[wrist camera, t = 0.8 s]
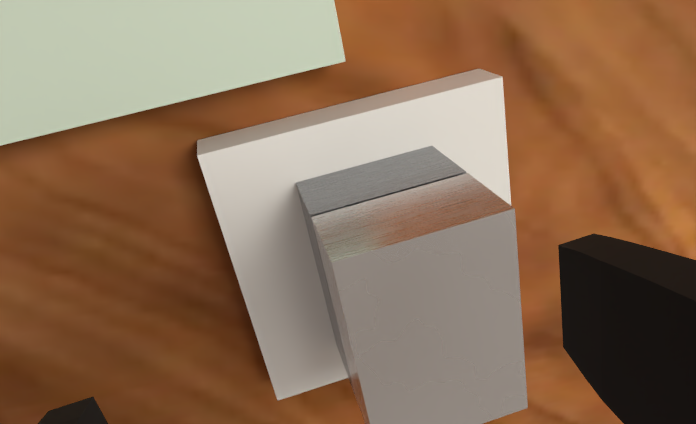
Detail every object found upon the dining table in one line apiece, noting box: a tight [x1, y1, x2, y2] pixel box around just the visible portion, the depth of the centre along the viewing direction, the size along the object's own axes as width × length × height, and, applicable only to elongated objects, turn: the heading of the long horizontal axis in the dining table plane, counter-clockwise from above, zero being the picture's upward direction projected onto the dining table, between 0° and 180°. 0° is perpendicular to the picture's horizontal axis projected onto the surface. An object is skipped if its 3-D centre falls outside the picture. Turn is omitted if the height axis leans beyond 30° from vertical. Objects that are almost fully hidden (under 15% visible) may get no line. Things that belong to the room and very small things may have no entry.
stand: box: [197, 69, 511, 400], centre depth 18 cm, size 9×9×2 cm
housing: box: [296, 146, 528, 424], centre depth 15 cm, size 6×4×5 cm
